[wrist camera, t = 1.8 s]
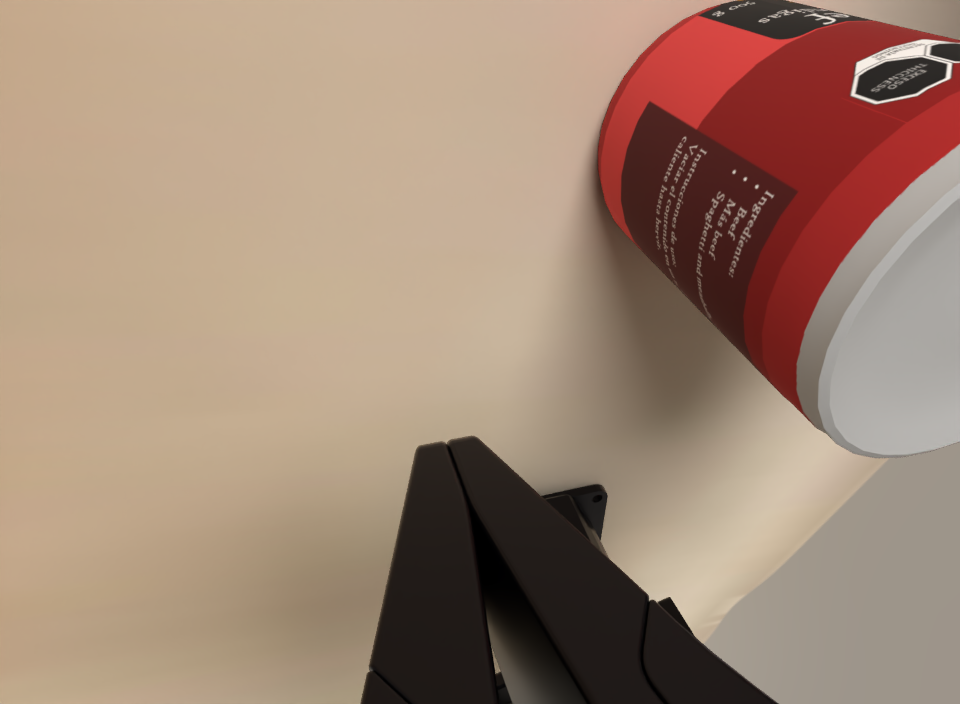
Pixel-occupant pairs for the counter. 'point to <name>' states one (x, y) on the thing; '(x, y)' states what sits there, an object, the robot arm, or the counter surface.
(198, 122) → the counter surface
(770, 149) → the canned food
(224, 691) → the counter surface
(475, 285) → the counter surface
